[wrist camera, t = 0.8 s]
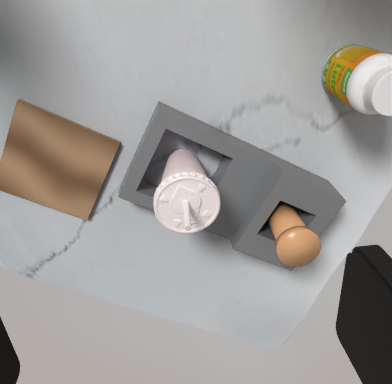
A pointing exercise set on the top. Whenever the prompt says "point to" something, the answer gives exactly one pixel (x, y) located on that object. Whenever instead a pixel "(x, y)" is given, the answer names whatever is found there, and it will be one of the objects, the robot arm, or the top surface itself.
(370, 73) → the supplement bottle
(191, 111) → the top surface
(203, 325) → the top surface
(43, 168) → the mat
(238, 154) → the grey holder
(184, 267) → the top surface
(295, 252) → the tan mushroom
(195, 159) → the smoothie
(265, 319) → the top surface
